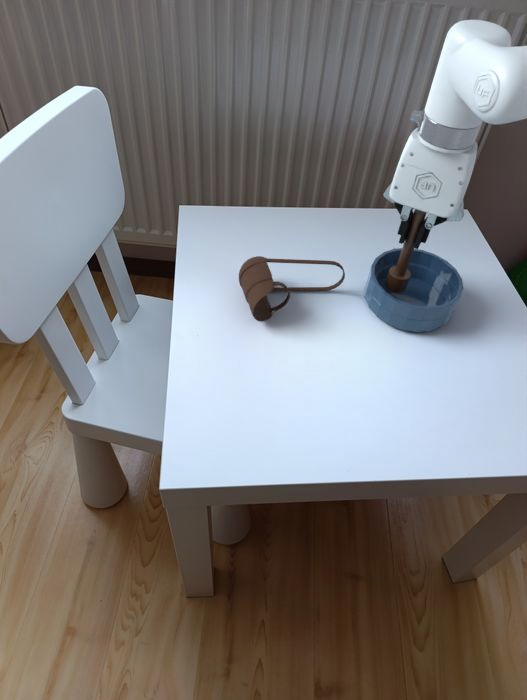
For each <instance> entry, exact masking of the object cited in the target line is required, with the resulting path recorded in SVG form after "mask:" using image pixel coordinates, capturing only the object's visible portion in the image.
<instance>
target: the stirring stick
mask: <svg viewBox="0 0 527 700" xmlns="http://www.w3.org/2000/svg"><path fill="white" fill-rule="evenodd" d="M413 213H414V214H413V217H412V221H411V224H410V227H409V230H408V233H407V236H406V239H405V241H404V243H402V247H401V248H402V251H401V254H400V257H399V260H398V263H397V266H393V267H391V268H390V270H389V273H388V276H387V279H386V282H385V285H386V287H387V289H388V290H390V291H392V292H395V293H401V292H403V291H405V290H406V287H407V284H408V281H409V279H410V276H411V273H410V271H409V270H408V269H407V268H408V265H409V262H410V259H411V256H412V253H413V251H414V249H415V247H414V245H415V242H416V239H417V236H418V233H419V230H420V227H421V225H422V224H423V222H424V220H425V219H426V217H427V213H426V212H423V211H420V210H417V209H414V210H413Z"/></svg>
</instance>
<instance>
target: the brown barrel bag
mask: <svg viewBox="0 0 527 700" xmlns="http://www.w3.org/2000/svg"><path fill="white" fill-rule="evenodd" d="M268 263H270V264H271V263H272V264H275V263H276V264H277V263H278V264H299V265H300V264H301V265H302V264H303V265H329V266H336V267H337V268H340V270H341V271H342V276H341V278H340V279H339V280H338V281H337V282H335V283H334V284H332V285H329V286H296V287H295V286H293V287H292V286H291V287H288V286H287V285H286V284H285V283H284V282H280V281H274V278H273V274H272V271H271V268H270V267H269V265H268ZM345 273H346V272H345V269H344V267H343V266H342V265H341V263H339V262H337V261H335V260H334V261H333V260H321V259H320V260H319V259H295V258H269V257H268V258H267V257H265V256H260V255H259V256H258V255H257V256H252V257H250V258H248V259H247V260H245V261H244V262H243V263H242V265H241V266H240V269H239V271H238V282H239V286H240V287H241V290H242V292H243V295H244V299H245V301H246V303H247V304H248V306H249V309H250V312H251V316H252V317H253V318H254V319H255V320H256V321H257V322H265V321H267V320H270V319H271V318H272V317H273V312H277V311H279V310H280V309H282V308H283V307H285V306H286V305H287V304H288V302H289V301H290V297H291V293H290V292H326V291H332V290H334V289H336V288H339V286H341V285H342V283H344V280H345V277H346V274H345ZM271 292H287V295H286V297H285V299H283V301H282V302H280V303H279V304H277V305H275V306H272V305H271V303H270V300H269V298H268V295H269V294H270V293H271Z"/></svg>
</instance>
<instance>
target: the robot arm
mask: <svg viewBox="0 0 527 700" xmlns="http://www.w3.org/2000/svg"><path fill="white" fill-rule="evenodd" d="M526 119H527V45H520V46H512V37H511V33H509V31H508V30H507V28H504V27H503V26H502V25H499V24H497V23H495V22H491V21H487V20H481V19H464V20H459V21H458V22H455V23H454V24H453V25H452V26H451V27H450V28H449V30H448V32H447V33H446V36H445V38H444V43H443V46H442V49H441V51H440V56H439V59H438V63H437V66H436V69H435V73H434V76H433V80H432V83H431V87H430V90H429V93H428V97H427V101H426V104H425V107H424V108H423V109H422V110H415V109H414V110H413V111H412V112H411V115H410V118H409V120H410V121H411V122H414V123H415V124H416V126H417V127H416V128H415V129H414V130H413V131H412V132H411V133H410V135H409V136H408V139H407V141H406V143H405V146H404V148H403V150H402V152H401V155H400V157H399V161H398V163H397V166H396V169H395V173H394V175H393V178H392V181H391V183H390V184H389V185H388V187H387V188H386V189H385V191H384V192H383V196H382V197H384V198H385V199H386V200H387V201H388V202H390V203H391V204H393V206H394V207H395V209H396V210H397V212H398V214H399V215H400V216H399V219H400V220H401V221H400V224H399V227H398V231H397V235H398V236H400V237H399V240H398V244H401V245H403V244H404V241H405V239H406V236H407V233H408V230H409V227H410V224H411V221H412V217H413V214H414V210H415V209H417V210H420V211H423V212H426V214H428V216H425V219H424V222H423V224H422V225H421V227H420V230H419V233H418V236H417V239H416V242H415V245H414V247H415V248H414V249H419V248H420V246H421V244H422V243H423V244H426V243H427V240H428V238H429V235H430V233H431V230H432V229H433V228H434V227H435V226H438V225H440V224H441V225H442V224H443V223H445V222H461V221H462V220H463V218H464V216H465V208H464V207H465V206H464V198H465V195H466V193H467V190H468V187H469V185H470V181H471V178H472V174H473V171H474V168H475V164H476V160H477V154H478V147H479V146H478V143H477V141H476V140H477V137H478V134H479V132H480V129H481V127H482V124H483V122H484V123H487V124H490V125H504V124H505V125H506V124H509V123H510V124H511V123H513V122H519V121H522V120H526Z"/></svg>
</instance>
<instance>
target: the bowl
mask: <svg viewBox="0 0 527 700" xmlns="http://www.w3.org/2000/svg"><path fill="white" fill-rule="evenodd" d="M402 248H403V247H399V248H392V249H389V250H386V251H384V252H382V253H380V254H379V255H377V256H376V257H375V258H374V259H373V262H372V264H371V265H370V268H369V273H368V276H367V279H366V283H365V286H364V300H365V302H366V304H367V307H368V308H369V310H370V311H371V312H372V313H373V314H374V315H375V317H377V318H378V319H380V320H381V321H382V322H384V323H385V324H387V325H389V326H391V327H393V328H396V329H398V330H401V331H405V332H413V333H415V332H416V333H421V332H431V331H434V330H437V329H440V328H442V327H444V326H445V325H446V324H447V323H448V322H449V321H450V320H451V318H452V316H453V314H454V312H455V310H456V308H457V305H458V303H459V301H460V299H461V297H462V294H463V292H464V282H463V278H462V276H461V275H460V273H459V271H458V270H457V269H456V267H454V266H453V265H452V264H451V263H450V262H449V261H448V260H446V259H445V258H442V257H441V256H439V255H438V254H436V253H433V252H430V251H427V250H423V249H419V248H418V249H415V248H414V251H413V253H412V256H411V259H410V262H409V265H408V268H407V269H408V270H409V271H410V273H411V276H410V279H409V281H408V284H407V287H406V290H405V291H403V292H401V293H395V292H392V291H390V290H388V289H387V287H386V285H385V282H386V279H387V276H388V273H389V270H390V268H391V267H393V266H397V263H398V260H399V257H400V254H401V251H402Z"/></svg>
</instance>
